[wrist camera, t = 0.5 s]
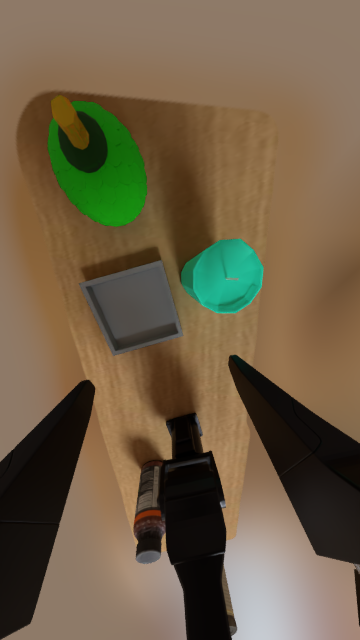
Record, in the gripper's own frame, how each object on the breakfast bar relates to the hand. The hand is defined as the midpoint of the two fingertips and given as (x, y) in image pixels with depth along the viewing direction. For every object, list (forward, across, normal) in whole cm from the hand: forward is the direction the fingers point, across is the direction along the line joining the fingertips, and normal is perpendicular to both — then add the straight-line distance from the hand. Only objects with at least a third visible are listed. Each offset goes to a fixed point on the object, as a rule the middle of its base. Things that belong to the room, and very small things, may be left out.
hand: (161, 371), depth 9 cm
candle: (+15, -6, -1) cm, 17 cm away
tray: (+14, +4, +3) cm, 15 cm away
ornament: (+18, +3, -11) cm, 22 cm away
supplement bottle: (+4, +9, +39) cm, 40 cm away
